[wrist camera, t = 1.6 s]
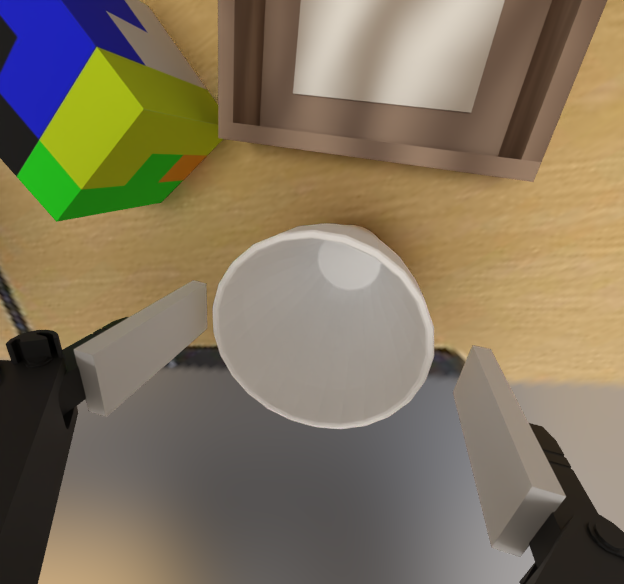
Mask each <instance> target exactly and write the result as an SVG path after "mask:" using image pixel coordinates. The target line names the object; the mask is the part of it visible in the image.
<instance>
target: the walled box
mask: <svg viewBox="0 0 624 584" xmlns="http://www.w3.org/2000/svg"><path fill="white" fill-rule="evenodd" d="M606 2H607V0H218V138H221V139H228V140H235V141H242V142H250V143H257V144H264V145H271V146H278V147H286V148H293V149H300V150H307V151H314V152H322V153H329V154H336V155H343V156H351V157H358V158H365V159H372V160H379V161H387V162H394V163H401V164H408V165H416V166H423V167H430V168H437V169H444V170H452V171H459V172H466V173H473V174H480V175H488V176H495V177H502V178H509V179H517V180H524V181H531V182H534V179H535V177H536V174H537V172H538V169H539V167H540V164H541V162H542V159H543V157H544V154H545V152H546V150H547V147H548V145H549V142H550V140H551V137H552V135H553V132H554V130H555V127H556V125H557V123H558V120H559V118H560V115H561V113H562V110H563V108H564V105H565V103H566V100H567V98H568V96H569V93H570V91H571V88H572V86H573V83H574V81H575V78H576V76H577V73H578V71H579V68H580V66H581V64H582V61H583V59H584V56H585V54H586V51H587V49H588V46H589V44H590V41H591V39H592V37H593V34H594V32H595V29H596V27H597V24H598V22H599V19H600V17H601V14H602V12H603V10H604V7H605V5H606Z"/></svg>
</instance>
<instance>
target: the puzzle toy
mask: <svg viewBox="0 0 624 584" xmlns="http://www.w3.org/2000/svg"><path fill="white" fill-rule="evenodd" d="M222 140H223V139H221V138H218V105H217V103H216V102H215V100H214V99H213V97H212V96H211V95H210V93H209V92H208V90H207V89H206V87H205V86H204V85H203V83H202V82H201V80H200V79H199V77H198V76H197V75H196V73H195V72H194V70H193V69H192V68H191V66H190V65H189V63H188V62H187V60H186V59H185V58H184V56H183V55H182V53H181V52H180V50H179V49H178V48H177V46H176V45H175V43H174V42H173V40H172V39H171V38H170V36H169V35H168V33H167V32H166V31H165V29H164V28H163V26H162V25H161V23H160V22H159V21H158V19H157V18H156V16H155V15H154V13H153V12H152V11H151V9H150V8H149V6H147V5H146V4H144V3H143V2H141V1H139V0H0V158H1V159H2V161H3V162H4V163H5V164H6V165H7V166H8V167H9V168H10V170H11V171H12V172H13V173H14V174H15V175H16V176H17V178H18V179H19V180H20V181H21V182H22V183H23V184H24V185H25V187H26V188H27V189H28V190H29V191H30V192H31V193H32V195H33V196H34V197H35V198H36V199H37V200H38V201H39V202H40V204H41V205H42V206H43V207H44V208H45V209H46V210H47V211H48V213H49V214H50V215H51V216H52V217H53V218H54V219H55V221H56V222H57V221H62V220H68V219H73V218H79V217H84V216H90V215H95V214H101V213H107V212H112V211H118V210H123V209H129V208H134V207H140V206H145V205H151V204H156V203H161V202H162V201H163V200H164V199H165V198H166V197H167V196H168V195H169V194H170V193H171V192H172V191H173V190H174V189H175V188H176V187H177V186H178V185H179V184H180V183H181V182H182V181H183V180H184V179H185V178H186V177H187V176H188V175H189V174H190V173H191V172H192V171H193V170H194V169H195V168H196V167H197V166H198V164H199V163H200V162H201V161H202V160H203V159H204V158H205V157H206V156H207V155H208V154H209V153H210V152H211V151H212V150H213V149H214V148H215V147H216V146H217V145H218V144H219V143H220V142H221V141H222Z"/></svg>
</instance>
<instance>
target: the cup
mask: <svg viewBox="0 0 624 584" xmlns="http://www.w3.org/2000/svg"><path fill="white" fill-rule="evenodd" d="M213 332H214V336H215V339H216V342H217V346H218V349H219V352H220V355H221V357H222V359H223V361H224V362H225V364H226V366H227V368H228V369H229V371H230V373H231V375H232V376H233V377H234V378H235V379H236V381H237V382H238V383H239V384H240V385H241V386H242V387H243V388H244V389H245V390H246V392H247V393H248V394H249V395H250V396H252V397H253V398H255V399H256V400H257V401H258V402H260V403H261V404H262V405H264V406H265V407H266V408H268V409H269V410H271V411H273V412H275V413H277V414H279V415H281V416H284V417H285V418H288V419H289V420H292V421H296V422H299V423H303V424H306V425H310V426H313V427H321V428H334V429H345V428H352V427H360V426H366V425H369V424H371V423H374V422H376V421H379V420H382V419H384V418H387V417H389V416H390V415H392V414H393V413H395V412H396V411H398V410H399V409H400V408H401V407H403V406H404V405H406V404H407V403H409V402H410V401H411V400H412V398H413V397H414V395H415V394H416V393H417V392H418V390H419V389H420V388H421V386H422V385H423V384H424V382H425V381H426V378H427V375H428V372H429V369H430V366H431V363H432V360H433V357H434V326H433V323H432V320H431V317H430V314H429V311H428V308H427V305H426V302H425V299H424V297H423V294H422V292H421V290H420V288H419V286H418V284H417V281H416V279H415V278H414V276H413V275H412V274H411V272H410V271H409V269H408V268H407V266H406V265H405V264H404V262H403V261H402V259H401V258H400V257H399V256H398V255H397V254H396V253H395V252H394V251H393V250H392V249H391V248H389V247H388V246H387V245H386V244H384V243H383V242H382V241H381V240H380V239H378V238H377V236H376V235H374V234H373V233H372V232H371V231H370V230H368V229H366V228H363V227H361V226H357V225H341V224H329V223H323V224H314V225H305V226H298V227H295V228H293V229H290V230H287V231H285V232H282V233H280V234H278V235H275V236H273V237H270V238H268V239H265V240H263V241H261V242H258V243H256V244H253V245H252V246H251V247H250V248H248V249H247V250H246V251H245V252H244V253H242V254H241V255H240V256H239V257H238V258H236V259H235V260H234V261H233V262H232V263H231V265H230V266H229V268H228V270H227V271H226V273H225V274H224V276H223V278H222V279H221V281H220V282H219V284H218V288H217V292H216V296H215V300H214V304H213Z"/></svg>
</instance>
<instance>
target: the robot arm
mask: <svg viewBox="0 0 624 584" xmlns="http://www.w3.org/2000/svg"><path fill="white" fill-rule="evenodd" d="M206 329H207V291H206V283H203V282H199V281H194V280H193V281H191V282H189V283H188V284H186V285H184V286H182V287H181V288H179V289H177V290H175V291H174V292H172V293H170V294H169V295H167V296H165V297H163V298H162V299H160V300H158V301H156V302H155V303H153V304H151V305H149V306H148V307H146V308H144V309H143V310H141V311H139V312H137V313H136V314H134V315H132V316H130V317H125V318H122V319H119V320H116V321H113V322H111V323H110V324H108V325H106V326H104V327H102V329H99V330H97V331H95V332H93V334H90V335H88V336H86V337H85V338H83V339H81V340H79V341H77V342H76V343H74V344H72V345H70V346H68V347H67V348H65V349H63V350H62V348H61V344H60V340H59V336H58V334H57V333H56V332H54V331H50V330H36V331H31V332H26V333H23V334H20V335H18V336H16V337H14V338H12V339H10V340H9V341H8V342H7V343H6V346H7V349H8V352H9V355H10V358H11V361H8V360H0V584H38V580H39V576H40V572H41V567H42V563H43V559H44V555H45V551H46V547H47V542H48V538H49V534H50V530H51V525H52V521H53V517H54V513H55V508H56V504H57V500H58V496H59V491H60V487H61V483H62V479H63V475H64V470H65V466H66V461H67V458H68V453H69V449H70V445H71V441H72V436H73V432H74V428H75V424H76V420H77V415H78V409H77V405H78V404H80V402H82V401H83V400H85V399H86V403H87V407H88V411H89V412H92V413H95V414H98V415H101V416H104V417H107V416H108V415H109V414H110V413H111V412H113V411H114V410H115V409H116V408H117V407H118V406H119V405H121V404H122V403H123V402H124V401H125V400H126V399H127V398H129V397H130V396H131V395H132V394H133V393H134V392H135V391H137V390H138V389H139V388H140V387H141V386H142V385H143V384H144V383H146V382H147V381H148V380H149V379H150V378H151V377H152V376H154V375H155V374H156V373H157V372H158V371H159V370H161V369H162V368H163V367H164V366H165V365H166V364H167V363H169V362H170V361H171V360H172V359H173V358H174V357H175V356H177V355H178V354H179V353H180V352H181V351H182V350H183V349H185V348H186V347H187V346H188V345H189V344H190V343H191V342H192V341H194V340H195V339H196V338H197V337H198V336H199V335H200V334H202V333H203V332H204V331H205V330H206ZM453 395H454V399H455V403H456V407H457V411H458V415H459V419H460V422H461V427H462V431H463V435H464V439H465V443H466V447H467V451H468V455H469V459H470V463H471V467H472V471H473V475H474V479H475V483H476V487H477V491H478V495H479V499H480V503H481V507H482V511H483V515H484V519H485V523H486V527H487V531H488V535H489V539H490V544H491V547H492V548H495V549H497V550H500V551H503V552H506V553H509V554H512V555H515V556H518V557H521V556H522V554H523V553H524V552H525V550H526V549H527V548H528V546H529V545H530V548H531V551H532V554H533V557H534V560H535V563H534V564H533V566H532V567H531V568H530V569H529V571H528V572H527V573H526V574H525V576H524V577H523V578H522V579H521V580H520V584H624V532H623V531H622V530H620V529H619V528H618V527H617V526H616V525H615V524H614V523H612V522H610V521H609V520H607V519H606V518H604V517H602V516H601V515H599V514H598V513H597V511H596V509H595V507H594V506H593V504H592V502H591V500H590V499H589V497H588V495H587V494H586V492H585V490H584V488H583V487H582V485H581V483H580V481H579V480H578V478H577V476H576V474H575V473H574V471H573V470H572V469H571V466H570V464H569V462H568V461H567V459H566V458H565V457H564V454H563V452H562V450H561V448H560V447H559V445H558V443H557V441H556V440H555V439H554V438H553V437H552V436H551V435H550V434H549V433H548V432H547V431H546V430H545V429H544V428H543V427H542V426H538V425H534V424H530V423H528V421H527V419H526V417H525V415H524V413H523V411H522V409H521V407H520V406H519V403H518V401H517V399H516V397H515V396H514V393H513V392H512V390H511V388H510V386H509V384H508V382H507V380H506V378H505V376H504V374H503V372H502V370H501V368H500V366H499V364H498V362H497V360H496V358H495V356H494V354H493V352H492V350H491V349H488V348H483V347H479V346H475V345H472V348H471V350H470V352H469V355H468V357H467V360H466V362H465V364H464V367H463V369H462V372H461V374H460V377H459V379H458V381H457V384H456V386H455V389H454V391H453Z"/></svg>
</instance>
